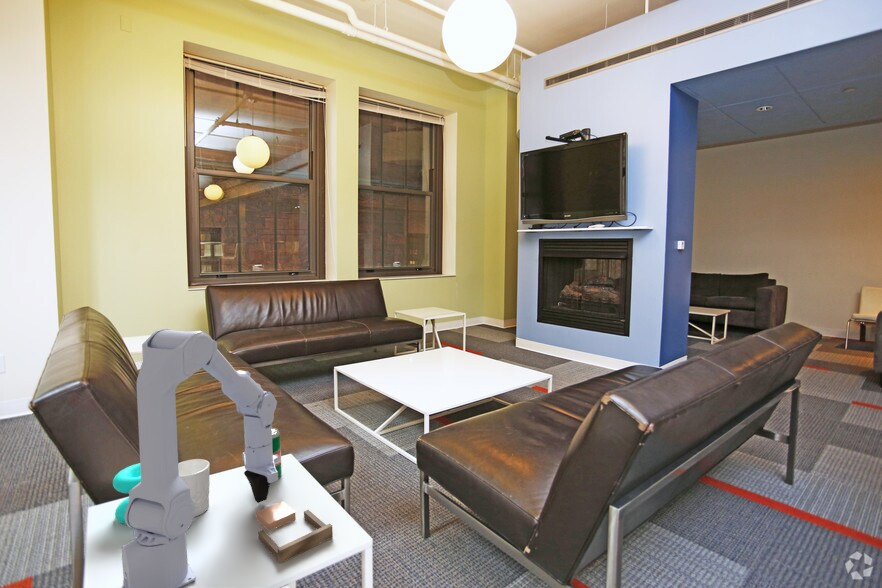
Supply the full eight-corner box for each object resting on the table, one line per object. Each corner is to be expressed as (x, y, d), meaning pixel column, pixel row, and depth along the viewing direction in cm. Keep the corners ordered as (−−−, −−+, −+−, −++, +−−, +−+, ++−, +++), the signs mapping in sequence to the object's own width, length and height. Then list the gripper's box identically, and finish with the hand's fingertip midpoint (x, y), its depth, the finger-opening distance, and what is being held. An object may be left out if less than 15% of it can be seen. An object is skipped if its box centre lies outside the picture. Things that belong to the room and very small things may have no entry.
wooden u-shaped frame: (280, 563, 85) (279, 550, 85) (258, 538, 92) (257, 526, 92) (332, 537, 93) (332, 525, 92) (308, 516, 100) (307, 505, 99)
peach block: (268, 533, 95) (268, 524, 94) (256, 520, 99) (255, 512, 98) (295, 520, 99) (295, 511, 99) (282, 509, 103) (282, 500, 103)
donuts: (171, 471, 99) (114, 487, 92) (173, 515, 100) (118, 533, 94) (162, 455, 106) (110, 468, 100) (165, 495, 108) (113, 511, 101)
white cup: (169, 508, 103) (166, 465, 101) (207, 496, 107) (205, 455, 106) (174, 525, 96) (171, 480, 95) (215, 512, 101) (212, 469, 100)
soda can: (274, 482, 113) (273, 436, 112) (256, 480, 114) (254, 434, 113) (285, 473, 118) (284, 428, 117) (267, 471, 119) (266, 426, 118)
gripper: (290, 447, 100) (292, 506, 102) (262, 428, 110) (264, 482, 112) (258, 458, 95) (261, 519, 97) (232, 437, 106) (235, 492, 107)
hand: (260, 500), depth 104 cm, fingers closed
